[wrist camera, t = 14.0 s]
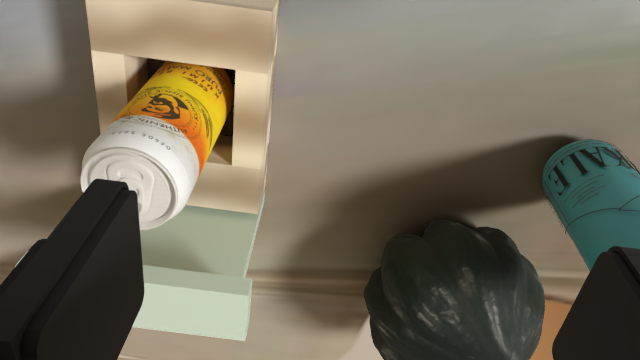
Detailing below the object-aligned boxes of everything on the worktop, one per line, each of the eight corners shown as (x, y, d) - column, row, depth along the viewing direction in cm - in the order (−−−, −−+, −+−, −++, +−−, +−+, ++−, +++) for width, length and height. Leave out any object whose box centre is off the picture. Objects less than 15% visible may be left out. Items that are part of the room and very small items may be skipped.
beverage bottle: (584, 205, 45) (723, 416, 28) (516, 180, 44) (617, 383, 28) (633, 142, 42) (824, 339, 25) (561, 114, 41) (708, 299, 24)
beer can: (239, 57, 40) (186, 154, 27) (232, 128, 43) (181, 244, 31) (159, 42, 40) (68, 132, 27) (158, 114, 43) (76, 225, 30)
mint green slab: (114, 144, 45) (14, 266, 31) (278, 165, 45) (248, 295, 32) (118, 183, 47) (26, 313, 34) (275, 204, 47) (245, 341, 34)
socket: (111, -28, 37) (83, -15, 33) (280, -5, 37) (272, 11, 34) (127, 166, 46) (107, 194, 42) (265, 184, 46) (257, 214, 42)
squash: (329, 353, 49) (459, 481, 39) (340, 219, 42) (504, 335, 32) (430, 293, 57) (559, 386, 47) (455, 171, 50) (614, 252, 40)
